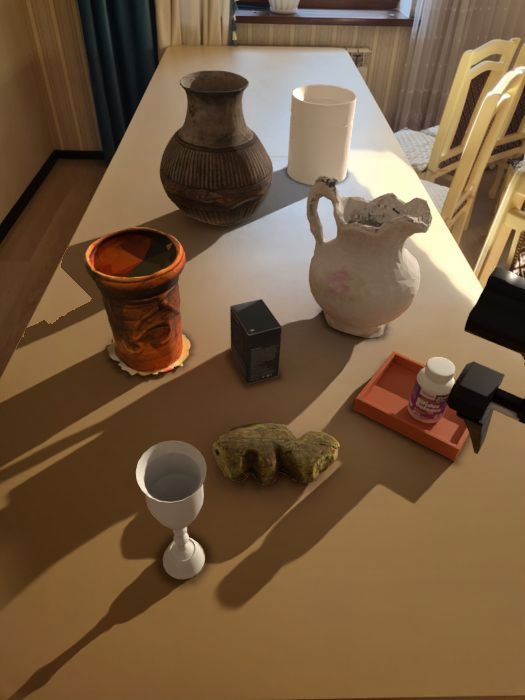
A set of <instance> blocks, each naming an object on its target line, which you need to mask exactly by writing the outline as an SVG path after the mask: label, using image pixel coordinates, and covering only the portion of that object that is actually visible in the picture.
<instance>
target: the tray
mask: <svg viewBox="0 0 525 700" xmlns="http://www.w3.org/2000/svg"><path fill="white" fill-rule="evenodd" d="M425 366H426V364H423V363H421V362H419V361H417V360H415V359H413V358H410V357H408V356H406V355H403V354H401V353H399V352H396V351H395V350H393V351H392V352H391V353H390V354H389V356H388V357H387V359H385V361H384V362H383V364H381V366H380V367H379V369H377V371H376V372H375V373H374V375H373V376H372V377H371V378H370V379H369V381H367V383H366V384H365V386H364V387H363V389H362V390H361V391H360V392H359V394H358V395H356V397H355V400H354V405H353V410H354V411H356V412H358V413H359V414H362V415H364V416H366V417H368V418H370V419H372V420H373V421H375V422H377V423H380V424H382V425H383V426H385V427H388V428H389V429H391V430H393V431H394V432H397V433H399V434H401V435H403V436H405V437H406V438H408V439H411V440H412V441H414V442H416V443H418V444H421V445H422V446H424V447H426V448H428V449H430V450H432V451H434V452H436V453H438V454H440V455H441V456H444V457H446V458H448V459H450V460H451V461H453V462H455V461H456V459H457V457H458V455H459V453H460V452H461V450H462V448H463V446H464V444H465V442H466V441H467V439H468V437H469V436H470V434H469V431H468V429H467V427H466V424H465V422H464V420H463V419H461V418H459V417H458V416H457V415H456V411H455V410H453V409H451V408H449V407H448V405H447V407H446V409H445V412H444V414H443V416H442V418H441V419H440V420H439V421H437V422H435V423H423V422H420V421H418V420H416V419H415V418H413V417H412V416H411V414H410V413H409V411H408V402H409V399H410V396H411V393H412V390H413V386H414V383H415V381H416V378H417V375H418V373H419V371H420V370H421V369H423V368H425ZM453 378H454V380H455V382H456V380H457V378H455V377H453Z"/></svg>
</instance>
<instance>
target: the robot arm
mask: <svg viewBox="0 0 525 700" xmlns="http://www.w3.org/2000/svg"><path fill="white" fill-rule="evenodd" d="M463 331H464V332H465V333H468V334H470V335H473V336H475V337H478V338H480V339H482V340H485V341H488V342H490V343H493V344H495V345H497V346H500V347H502V348H505V349H507V350H510V351H512V352H515V353H517V354H519V355H521V356H523V355H525V277H522V276H520V275H517V274H516V273H514V272H513V271H511V270H508V269H506V268H503V267H500V266H496V267H494V269H493V270H492V271H491V272H490V274H489V276H488V278H487V281H486V283H485V285H484V288H483V289H482V291H481V293H480V295H479V297H478V299H477V301H476V303H475V304H474V305H473V307H472V308H471V310H470V312H469V313H468V316H467V319H466V321H465V325H464V329H463ZM523 365H524V366H525V362H524V364H523ZM505 375H506V374H504V373H502V372H500V371H498V370H496V369H493V368H490V367H488V366H486V365H483V364H482V363H479V362H476V361H471V362H468V363H466V364H465V366H464V367H463V369H462V371H461V372H460V373H459V375H458V376H457V378H456V379H457V380H456V382H455V383H454V385H453V387H452V389H451V391H450V393H449V396H448V398H447V401H446V403H447V405H448V407H449V408H451V409H453V410H455V411H456V415H457V416H458V417H459V418H461V419H463V420H464V422H465V424H466V427H467V429H468V431H469V437H470V440H471V446H472V450H473V453H474V454H475V455H478V454H479V453H480V451H481V449H482V447H483V445H484V443H485V440H486V438H487V435H488V431H489V427H490V424H491V420H492V417H493V413H494V411H495V412H497V413H499V414H502V415H504V416H507V417H509V418H510V419H513V420H514V421H516V422H519V423H521V424H523V425H525V396H524V397H520V396H518V395H516V394H513V393H511V392H509V391H507V390H504V389H502V388H500V386H501V385H502V382H503V380H504V378H505Z"/></svg>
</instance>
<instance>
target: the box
mask: <svg viewBox="0 0 525 700" xmlns="http://www.w3.org/2000/svg"><path fill="white" fill-rule="evenodd" d="M229 310H230V311H229V312H230V313H229V314H230V316H229V317H230V319H229V320H230V356H231V358H232V360H233V361H234V363H235V365H236V367H237V369H238V370H239V372H240V374H241V375H242V377H243V379H244V381H245V383H246V384H247V385H251V384H256V383H258V382H262V381H266V380H270V379H274V378H278V377H279V372H280V358H281V345H282V330H283V329H282V328H283V327H282V325H281V324H280V322H279V320H277V318H276V317H275V315H274V314H273V312H272V311H271V310H270V308H269V307H268V305H267V304H266V303H265V301H264V299H262V298H261V299H255V300H251V301H247V302H241V303H238V304H233V305H230V306H229Z"/></svg>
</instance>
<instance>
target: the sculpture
mask: <svg viewBox="0 0 525 700" xmlns="http://www.w3.org/2000/svg"><path fill="white" fill-rule="evenodd" d="M340 447H341V446H340V443H339V441H338V440H336V438H335V437H334V436H332V435H330V434H328V433H326V432H323V431H317V430H309V431H307V432H305V433H303V434H302V435H301V436H300V437H297V436H295V434H293V432H291V430H290V429H289V427H288V426H287V424H284V423H283V424H282V423H273V422H269V423H268V422H252V423H246V424H242V425H236V426H232V427H231V428H229V429H228V431H226V432H224V433H222V434H221V435H220V436H218V439H217V440H216V441H215V442H214V443H213V444H212V450H211V451H212V454H213V456H214V459H215V461H216V464H217V467H219V469H220V470H221V471H222V473H223V475H224V477H225V478H226V479H229V480H230V481H232V482H236V483H241V482H244V481H245V480H247V479H248V477H249V476H250V475H252V476H253V477H254V479H255V482H256V484H258V485H261V486H268V485H271V484H273V483H274V482H275V481H276V480H277V478H278V474H279V473H281V474H283V475H285V476H287V477H288V478H290V479H292V480H293V481H295V482H296V483H299V484H312V483H314V482H316V481H317V480H318V478H319V477H320V476H321V475H322V474H323V473H324V472H325V471H327V470H328V468H329V467H330V466H332V464H333V463H334V462H335V461H336V460H337V459H338V455H339V454H338V453H339V449H340Z"/></svg>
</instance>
